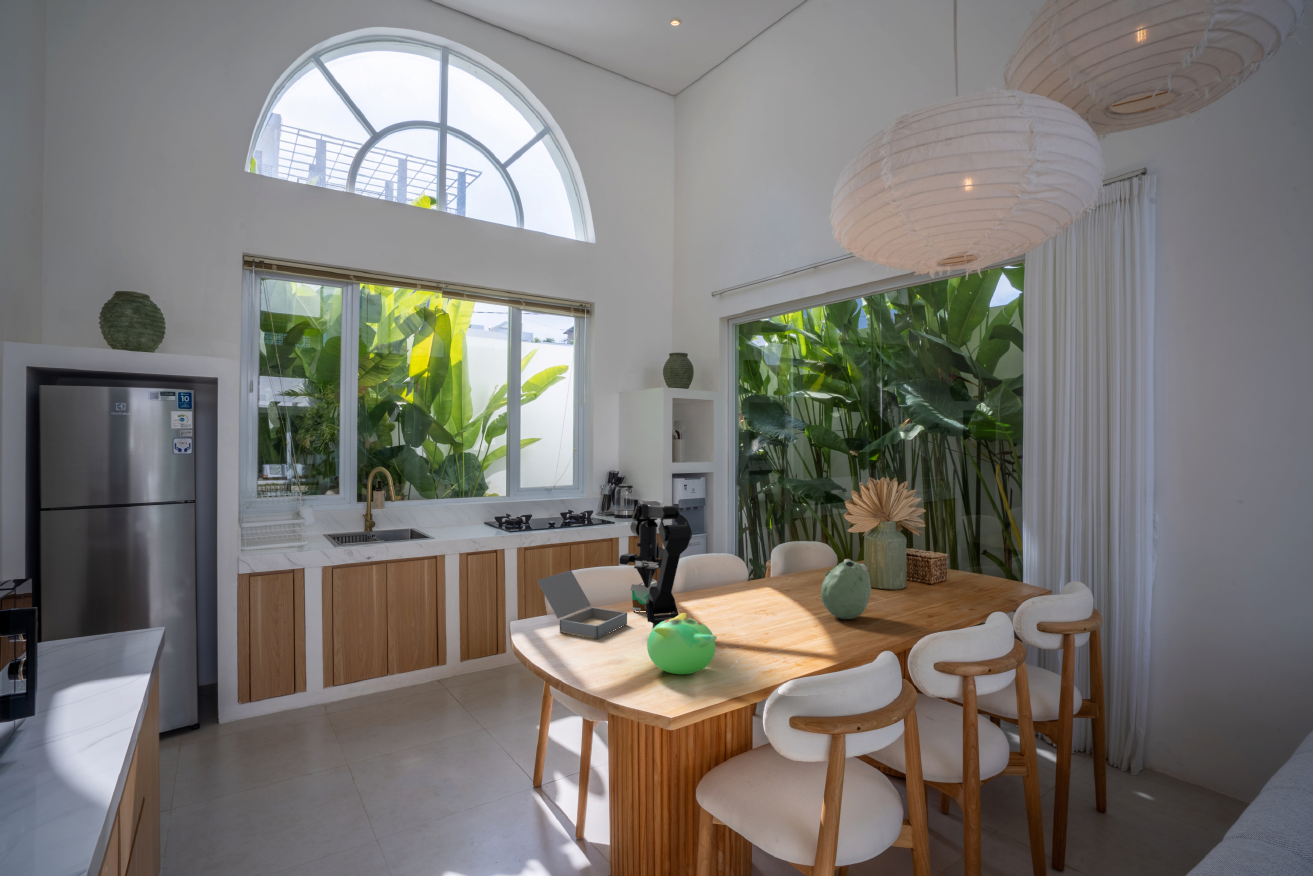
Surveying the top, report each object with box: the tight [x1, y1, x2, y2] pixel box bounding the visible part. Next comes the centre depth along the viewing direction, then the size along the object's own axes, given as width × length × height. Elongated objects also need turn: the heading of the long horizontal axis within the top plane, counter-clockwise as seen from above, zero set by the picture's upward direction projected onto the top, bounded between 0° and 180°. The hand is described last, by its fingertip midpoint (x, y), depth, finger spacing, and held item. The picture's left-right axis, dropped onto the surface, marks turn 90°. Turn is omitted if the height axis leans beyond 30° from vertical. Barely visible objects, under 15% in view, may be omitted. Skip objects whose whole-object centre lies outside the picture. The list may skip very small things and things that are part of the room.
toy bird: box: [646, 612, 717, 675], centre depth 167 cm, size 18×17×15 cm
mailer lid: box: [536, 569, 592, 620], centre depth 211 cm, size 14×18×1 cm
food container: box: [630, 578, 658, 611], centre depth 228 cm, size 12×6×10 cm, turn 143°
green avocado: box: [820, 558, 872, 620], centre depth 220 cm, size 16×19×20 cm
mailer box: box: [559, 606, 628, 640], centre depth 205 cm, size 14×18×4 cm
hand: (647, 587), depth 207 cm, fingers closed
